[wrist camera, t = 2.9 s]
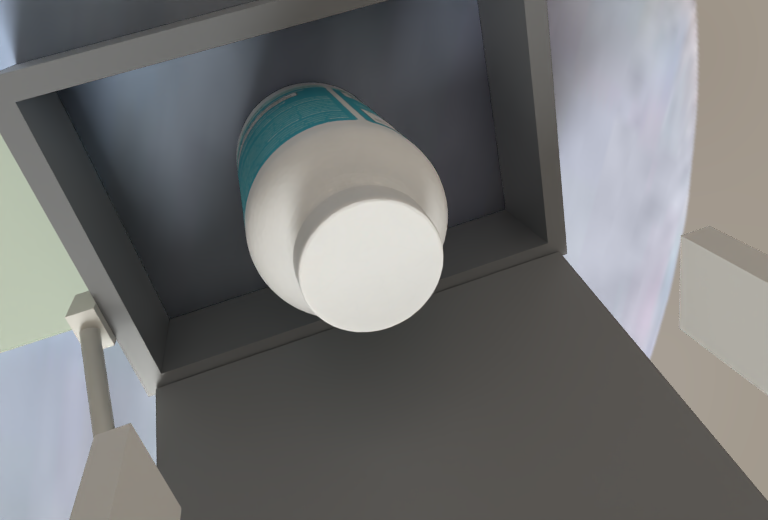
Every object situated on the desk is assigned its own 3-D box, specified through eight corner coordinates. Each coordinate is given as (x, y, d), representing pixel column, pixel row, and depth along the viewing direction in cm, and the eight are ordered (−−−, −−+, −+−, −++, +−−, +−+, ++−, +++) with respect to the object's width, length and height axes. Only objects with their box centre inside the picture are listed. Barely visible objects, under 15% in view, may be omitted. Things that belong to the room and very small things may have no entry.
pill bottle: (233, 218, 30) (241, 372, 18) (239, 70, 27) (253, 139, 15) (371, 224, 32) (459, 366, 20) (391, 88, 29) (507, 160, 17)
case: (-13, 72, 24) (-563, 282, 7) (489, -62, 27) (947, -137, 10) (168, 403, 34) (113, 841, 16) (530, 279, 36) (805, 543, 19)
